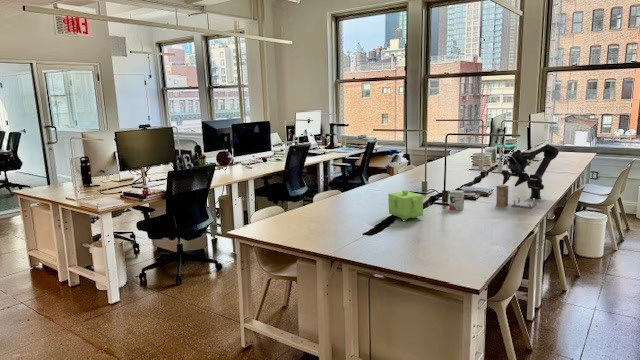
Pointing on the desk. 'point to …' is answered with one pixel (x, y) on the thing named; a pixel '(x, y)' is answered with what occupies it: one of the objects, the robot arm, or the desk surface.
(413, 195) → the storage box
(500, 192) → the walnut block
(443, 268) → the desk surface
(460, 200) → the ink box
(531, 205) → the peg plate
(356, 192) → the desk surface
